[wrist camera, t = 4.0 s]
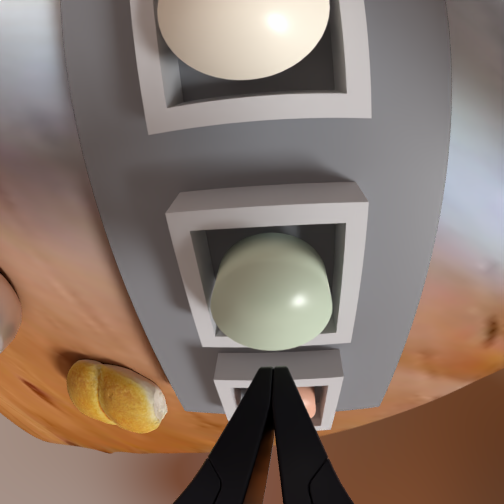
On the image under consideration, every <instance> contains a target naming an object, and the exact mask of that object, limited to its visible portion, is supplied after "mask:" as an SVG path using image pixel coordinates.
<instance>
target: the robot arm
mask: <svg viewBox="0 0 504 504" xmlns="http://www.w3.org/2000/svg"><path fill="white" fill-rule="evenodd" d="M274 433H275V438H276V446H277V455H278V463H279V471H280V480H281V487H282V497H283V504H354V503H353V501H352V500H351V498H350V497H349V496H348V494H347V492H346V491H345V489H344V487H343V486H342V484H341V482H340V480H339V478H338V477H337V475H336V472H335V471H334V469H333V467H332V464H331V462H330V460H329V459H328V456H327V453H326V452H325V449H324V447H323V445H322V443H321V440H320V438H319V436H318V434H317V431H316V429H315V427H314V425H313V422H312V420H311V418H310V416H309V414H308V411H307V409H306V407H305V405H304V402H303V400H302V398H301V396H300V393H299V391H298V389H297V387H296V384H295V382H294V380H293V378H292V375H291V373H290V371H289V369H288V367H287V366H275V367H274V368H273V367H271V366H269V367H260V368H259V369H258V371H257V373H256V374H255V376H254V378H253V380H252V382H251V384H250V385H249V387H248V389H247V391H246V392H245V394H244V396H243V398H242V400H241V401H240V403H239V405H238V407H237V408H236V410H235V412H234V414H233V415H232V417H231V419H230V420H229V422H228V424H227V426H226V427H225V429H224V431H223V432H222V434H221V436H220V437H219V439H218V441H217V442H216V444H215V446H214V447H213V449H212V451H211V452H210V454H209V456H208V458H209V459H208V458H207V459H206V461H205V462H204V463H203V465H202V467H201V468H200V470H199V471H198V473H197V474H196V476H195V477H194V478H193V480H192V482H191V483H190V484H189V485H188V486H187V488H186V489H185V490H184V491H183V492H182V494H181V495H180V496H179V497H178V498H177V499H176V500H175V502H174V503H173V504H263V499H264V493H265V488H266V483H267V477H268V471H269V465H270V459H271V453H272V447H273V440H274Z"/></svg>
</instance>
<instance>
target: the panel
mask: <svg viewBox="0 0 504 504" xmlns="http://www.w3.org/2000/svg"><path fill="white" fill-rule="evenodd" d="M329 4H330V11H329V19H328V22H327V26H326V29H325V31H324V33H323V35H322V37H321V39H320V40H319V42H318V43H317V45H316V46H315V47H314V48H313V50H312V51H311V52H310V53H309V54H308V55H307V56H305V57H304V58H303V59H302V60H301V61H299V62H298V63H296V64H295V65H293V66H292V67H290V68H288V69H286V70H284V71H282V72H280V73H277V74H274V75H271V76H267V77H264V78H258V79H251V80H230V79H223V78H217V77H213V76H210V75H207V74H204V73H202V72H200V71H197V70H195V69H194V68H192V67H190V66H188V65H187V64H186V63H184V62H183V61H182V60H180V59H179V58H178V57H177V56H176V55H175V54H174V53H173V52H172V50H171V49H170V48H169V46H168V45H167V43H166V42H165V40H164V38H163V36H162V33H161V30H160V28H159V23H158V14H157V8H158V0H61V20H62V33H63V43H64V52H65V61H66V68H67V75H68V82H69V88H70V94H71V100H72V105H73V111H74V116H75V121H76V126H77V130H78V135H79V139H80V144H81V148H82V152H83V156H84V160H85V164H86V168H87V172H88V175H89V179H90V183H91V186H92V190H93V193H94V197H95V200H96V203H97V207H98V210H99V213H100V216H101V219H102V223H103V226H104V229H105V232H106V235H107V238H108V240H109V243H110V246H111V249H112V252H113V255H114V257H115V260H116V263H117V265H118V268H119V271H120V273H121V276H122V279H123V281H124V284H125V286H126V289H127V291H128V294H129V296H130V298H131V301H132V303H133V306H134V308H135V310H136V313H137V315H138V317H139V320H140V322H141V324H142V326H143V329H144V331H145V333H146V335H147V337H148V339H149V342H150V344H151V346H152V348H153V350H154V352H155V354H156V356H157V358H158V360H159V362H160V364H161V366H162V368H163V370H164V372H165V374H166V376H167V378H168V380H169V382H170V384H171V386H172V388H173V390H174V391H175V393H176V395H177V397H178V399H179V401H180V402H181V404H182V406H183V408H184V410H185V411H192V412H205V413H222V414H226V416H227V419H228V421H229V420H230V419H231V417H232V415H233V414H234V412H235V410H236V408H237V407H238V405H239V403H240V401H241V400H242V398H243V396H244V394H245V392H246V388H248V387H249V385H250V384H251V382H252V380H253V378H254V376H255V374H256V373H257V371H258V369H259V368H260V367H269V366H271V367H273V368H274V367H275V366H287V367H288V369H289V371H290V373H291V375H292V378H293V380H294V382H295V384H296V387H310V386H314V390H315V405H316V412H315V415H314V416H313V417H312V418H311V420H312V422H313V425H314V427H315V429H316V430H330V429H331V426H332V423H333V419H334V415H335V411H345V410H355V409H364V408H371V407H379V406H380V404H381V402H382V400H383V397H384V395H385V393H386V391H387V388H388V386H389V384H390V381H391V379H392V377H393V374H394V372H395V369H396V367H397V364H398V362H399V359H400V357H401V354H402V351H403V349H404V346H405V343H406V340H407V337H408V335H409V332H410V329H411V326H412V323H413V320H414V317H415V314H416V310H417V307H418V304H419V301H420V297H421V294H422V290H423V287H424V283H425V279H426V276H427V272H428V268H429V264H430V260H431V256H432V251H433V247H434V243H435V238H436V233H437V228H438V223H439V218H440V212H441V206H442V200H443V194H444V187H445V180H446V172H447V163H448V153H449V142H450V128H451V103H452V73H451V49H450V36H449V25H448V16H447V8H446V1H445V0H329ZM261 233H283V234H287V235H292V236H294V237H297V238H299V239H301V240H303V241H305V242H306V243H308V244H309V245H311V246H312V247H313V248H314V249H315V250H316V251H317V252H318V254H319V255H320V257H321V258H322V260H323V263H324V265H325V269H326V274H327V279H328V283H329V288H330V293H331V299H332V314H331V317H330V320H329V322H328V324H327V325H326V327H325V328H324V329H323V331H322V332H321V333H320V334H319V335H317V336H316V337H315V338H314V339H312V340H310V341H309V342H307V343H305V344H303V345H300V346H298V347H295V348H291V349H286V350H277V351H267V350H258V349H253V348H250V347H246V346H244V345H241V344H239V343H237V342H235V341H233V340H232V339H230V338H229V337H228V336H226V335H225V334H224V333H223V332H222V331H221V330H220V329H219V328H218V326H217V325H216V323H215V321H214V319H213V317H212V314H211V308H210V304H211V297H212V293H213V289H214V285H215V281H216V277H217V273H218V270H219V266H220V263H221V260H222V259H223V257H224V255H225V254H226V253H227V251H228V250H229V249H230V248H231V247H232V246H233V245H235V244H236V243H238V242H239V241H241V240H243V239H245V238H247V237H250V236H252V235H256V234H261Z"/></svg>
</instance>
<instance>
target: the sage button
mask: <svg viewBox="0 0 504 504" xmlns="http://www.w3.org/2000/svg"><path fill="white" fill-rule="evenodd" d="M210 308H211V314H212V317H213V319H214V321H215V323H216V325H217V326H218V328H219V329H220V330H221V331H222V332H223V333H224V334H225V335H226V336H228V337H229V338H230V339H232V340H233V341H235V342H237V343H239V344H241V345H244V346H246V347H250V348H253V349H258V350H267V351H277V350H286V349H291V348H295V347H298V346H300V345H303V344H305V343H307V342H309V341H310V340H312V339H314V338H315V337H316V336H317V335H319V334H320V333H321V332H322V331H323V329H324V328H325V327H326V325H327V324H328V322H329V320H330V317H331V314H332V299H331V293H330V288H329V283H328V279H327V274H326V269H325V265H324V263H323V260H322V258H321V257H320V255H319V254H318V252H317V251H316V250H315V249H314V248H313V247H312V246H311V245H309V244H308V243H306V242H305V241H303V240H301V239H299V238H297V237H294V236H292V235H287V234H283V233H261V234H256V235H252V236H250V237H247V238H245V239H243V240H241V241H239V242H238V243H236V244H235V245H233V246H232V247H231V248H230V249H229V250H228V251H227V253H226V254H225V255H224V257H223V259H222V260H221V263H220V266H219V270H218V273H217V277H216V281H215V285H214V289H213V293H212V297H211V304H210Z"/></svg>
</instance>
